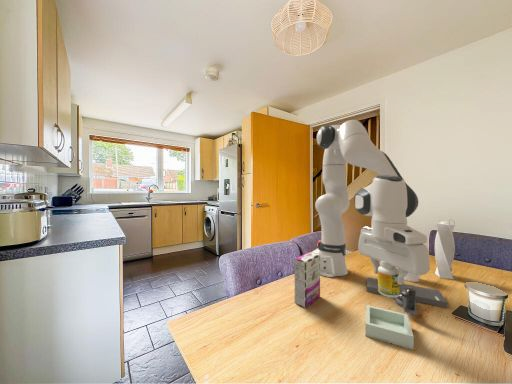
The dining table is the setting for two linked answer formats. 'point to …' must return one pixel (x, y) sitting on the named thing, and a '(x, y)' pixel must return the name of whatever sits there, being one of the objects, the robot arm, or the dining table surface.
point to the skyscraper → (444, 249)
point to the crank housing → (421, 293)
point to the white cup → (412, 277)
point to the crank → (408, 300)
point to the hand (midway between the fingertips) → (388, 278)
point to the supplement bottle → (387, 280)
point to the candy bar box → (307, 278)
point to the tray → (389, 326)
